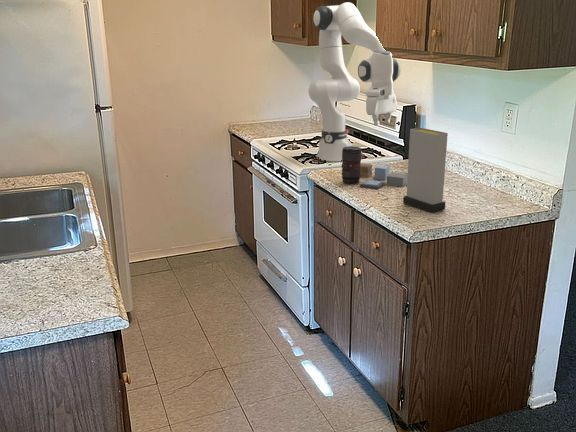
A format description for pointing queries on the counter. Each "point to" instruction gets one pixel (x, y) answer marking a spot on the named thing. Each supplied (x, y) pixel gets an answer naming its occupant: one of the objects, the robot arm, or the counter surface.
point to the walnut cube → (366, 170)
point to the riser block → (397, 179)
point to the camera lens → (351, 164)
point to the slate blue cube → (381, 172)
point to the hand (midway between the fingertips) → (382, 124)
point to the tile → (372, 184)
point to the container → (426, 169)
